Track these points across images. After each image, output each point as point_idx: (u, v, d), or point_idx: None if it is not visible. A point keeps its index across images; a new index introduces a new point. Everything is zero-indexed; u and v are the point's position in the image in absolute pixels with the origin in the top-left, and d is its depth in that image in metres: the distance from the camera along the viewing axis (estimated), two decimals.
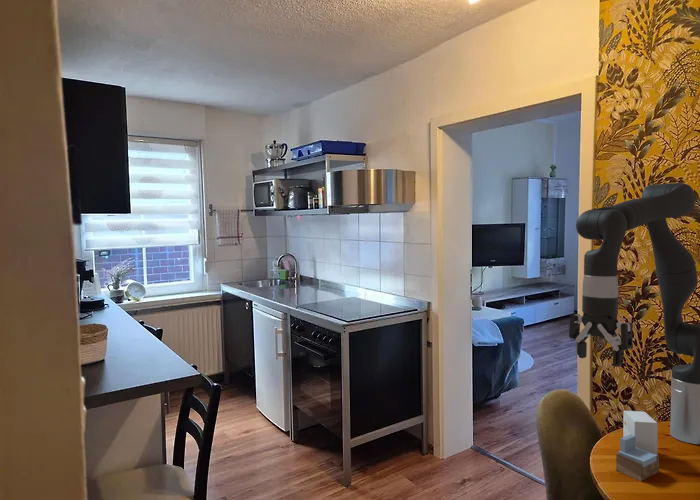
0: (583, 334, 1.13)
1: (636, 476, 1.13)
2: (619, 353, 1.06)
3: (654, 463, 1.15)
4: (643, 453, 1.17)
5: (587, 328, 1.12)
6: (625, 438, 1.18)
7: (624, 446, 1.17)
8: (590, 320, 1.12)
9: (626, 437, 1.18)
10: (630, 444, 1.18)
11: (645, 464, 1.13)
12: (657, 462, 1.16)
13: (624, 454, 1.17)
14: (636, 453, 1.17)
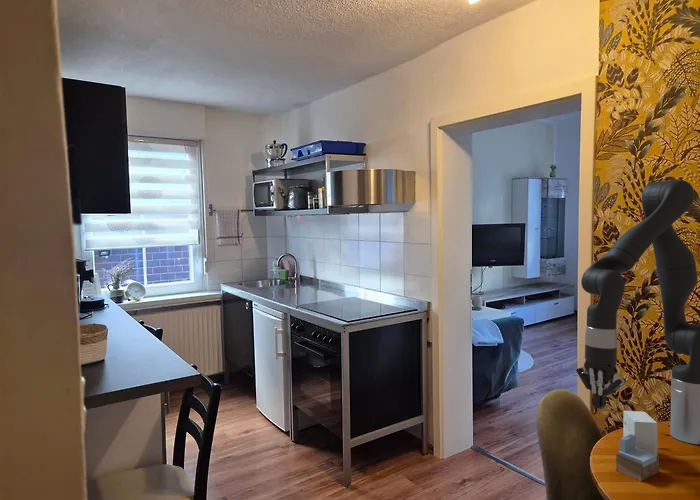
0: (593, 382, 1.24)
1: (636, 476, 1.13)
2: (602, 397, 1.23)
3: (654, 463, 1.15)
4: (643, 453, 1.17)
5: (592, 375, 1.25)
6: (625, 438, 1.18)
7: (624, 446, 1.17)
8: (592, 366, 1.25)
9: (626, 437, 1.18)
10: (630, 444, 1.18)
11: (645, 464, 1.13)
12: (657, 462, 1.16)
13: (624, 454, 1.17)
14: (636, 453, 1.17)
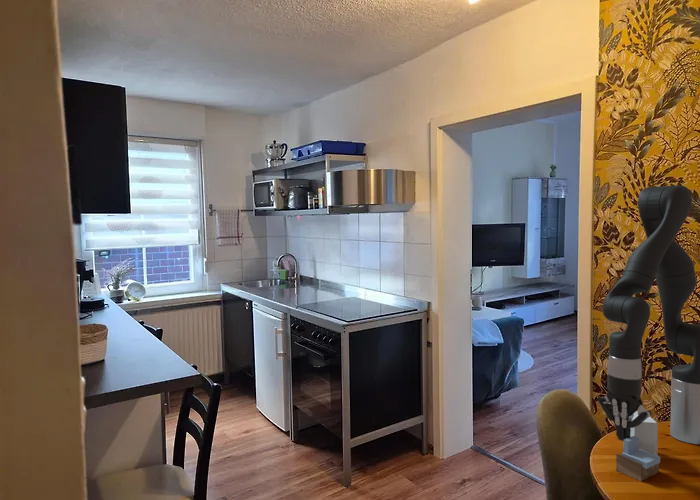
0: (617, 414, 1.19)
1: (636, 476, 1.13)
2: (626, 430, 1.18)
3: None
4: (647, 454, 1.16)
5: (615, 406, 1.19)
6: (628, 439, 1.17)
7: (627, 447, 1.17)
8: (615, 397, 1.20)
9: (630, 439, 1.18)
10: (633, 445, 1.18)
11: (649, 466, 1.13)
12: None
13: (627, 455, 1.16)
14: (640, 454, 1.16)
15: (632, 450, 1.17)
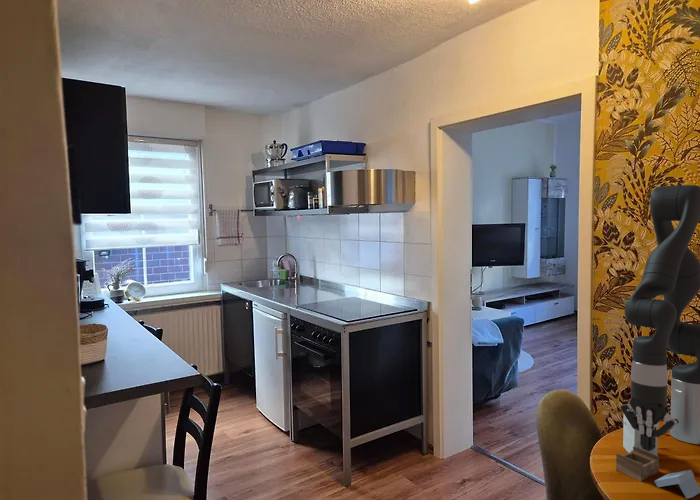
0: (641, 422, 1.14)
1: (636, 476, 1.13)
2: (651, 439, 1.13)
3: (654, 463, 1.15)
4: None
5: (639, 414, 1.14)
6: None
7: (682, 490, 1.06)
8: (639, 404, 1.15)
9: None
10: None
11: None
12: (657, 462, 1.16)
13: (675, 483, 1.07)
14: None
15: None
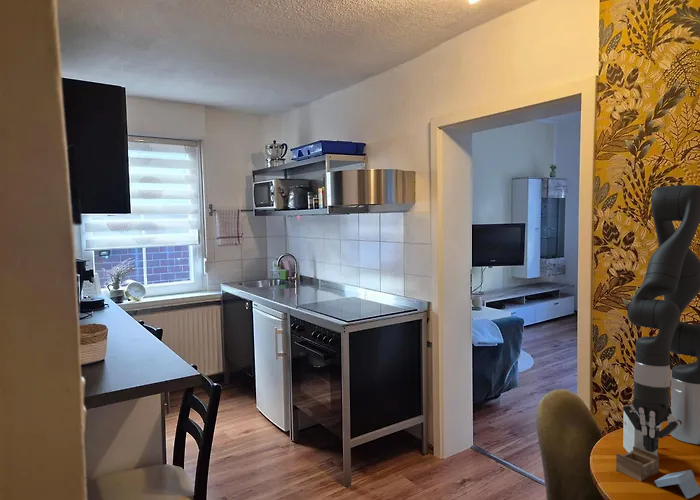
0: (644, 423, 1.14)
1: (636, 476, 1.13)
2: (654, 440, 1.13)
3: (654, 463, 1.15)
4: None
5: (642, 415, 1.14)
6: None
7: (682, 490, 1.06)
8: (642, 405, 1.14)
9: None
10: None
11: None
12: (657, 462, 1.16)
13: (675, 483, 1.07)
14: None
15: None
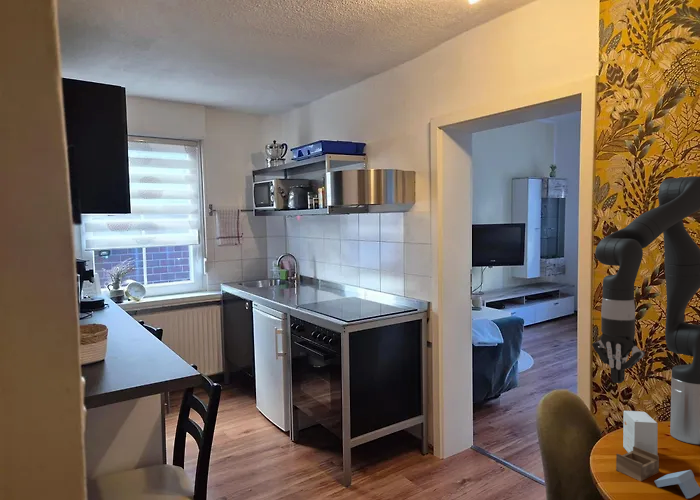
0: (611, 356, 1.20)
1: (636, 476, 1.13)
2: (621, 371, 1.19)
3: (654, 463, 1.15)
4: None
5: (609, 348, 1.20)
6: None
7: (682, 490, 1.06)
8: (609, 340, 1.21)
9: None
10: None
11: None
12: (657, 462, 1.16)
13: (675, 483, 1.07)
14: None
15: None
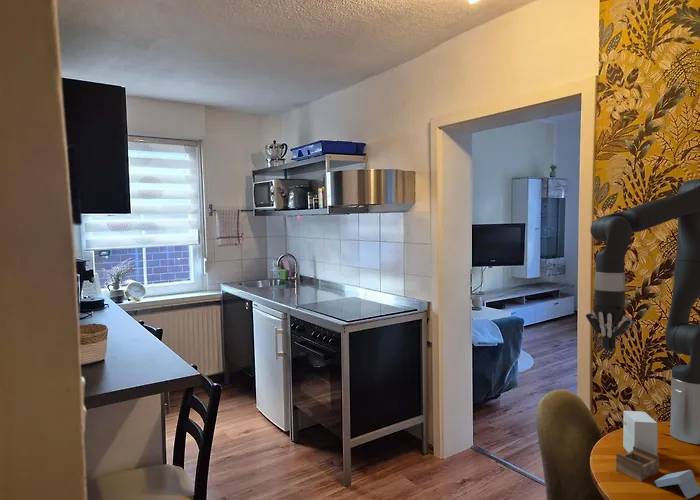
0: (603, 325, 1.30)
1: (636, 476, 1.13)
2: (612, 339, 1.29)
3: (654, 463, 1.15)
4: None
5: (601, 318, 1.30)
6: None
7: (682, 490, 1.06)
8: (601, 310, 1.31)
9: None
10: None
11: None
12: (657, 462, 1.16)
13: (675, 483, 1.07)
14: None
15: None
